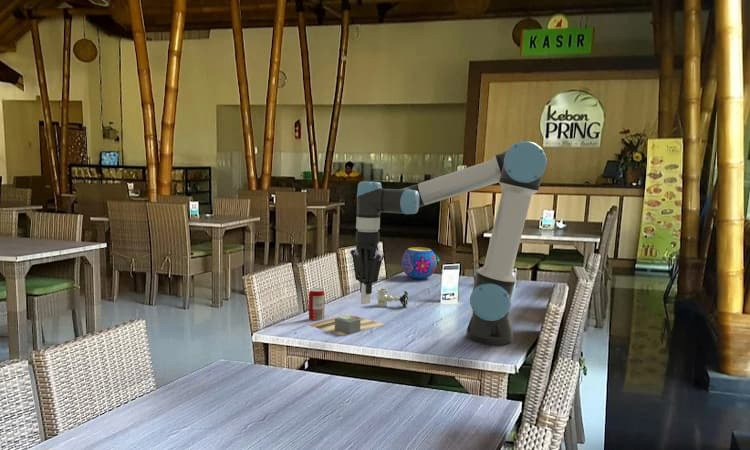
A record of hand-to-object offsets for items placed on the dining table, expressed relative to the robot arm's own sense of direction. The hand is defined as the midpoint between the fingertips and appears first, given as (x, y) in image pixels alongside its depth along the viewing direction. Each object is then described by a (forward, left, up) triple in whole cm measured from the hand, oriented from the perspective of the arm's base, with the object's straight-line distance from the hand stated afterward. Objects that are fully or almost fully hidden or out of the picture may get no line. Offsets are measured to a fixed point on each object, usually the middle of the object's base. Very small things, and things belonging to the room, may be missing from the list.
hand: (365, 303), depth 183 cm
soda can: (+27, -3, -12) cm, 29 cm away
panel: (+14, -5, -12) cm, 19 cm away
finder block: (+8, 0, -11) cm, 14 cm away
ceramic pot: (+52, -93, -12) cm, 107 cm away
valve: (+23, -40, -12) cm, 48 cm away
